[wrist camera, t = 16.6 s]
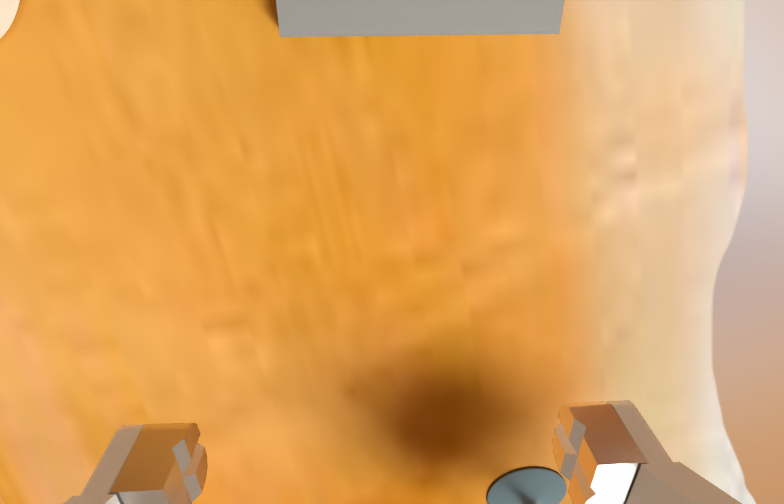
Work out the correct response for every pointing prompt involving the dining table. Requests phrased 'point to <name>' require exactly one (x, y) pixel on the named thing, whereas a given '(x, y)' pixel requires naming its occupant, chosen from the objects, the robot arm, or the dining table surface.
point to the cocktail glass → (528, 487)
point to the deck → (417, 17)
